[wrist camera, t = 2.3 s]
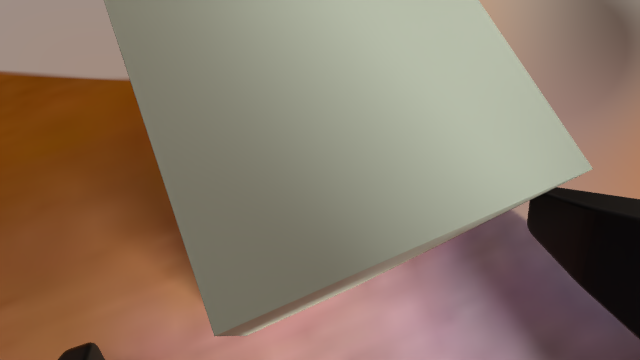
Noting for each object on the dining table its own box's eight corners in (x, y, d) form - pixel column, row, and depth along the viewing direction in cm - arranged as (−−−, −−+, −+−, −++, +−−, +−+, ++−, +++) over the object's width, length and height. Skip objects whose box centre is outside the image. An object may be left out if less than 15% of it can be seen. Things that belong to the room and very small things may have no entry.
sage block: (357, 285, 17) (592, 169, 5) (246, 335, 16) (214, 336, 4) (312, 183, 19) (413, -96, 7) (206, 221, 17) (90, -43, 5)
